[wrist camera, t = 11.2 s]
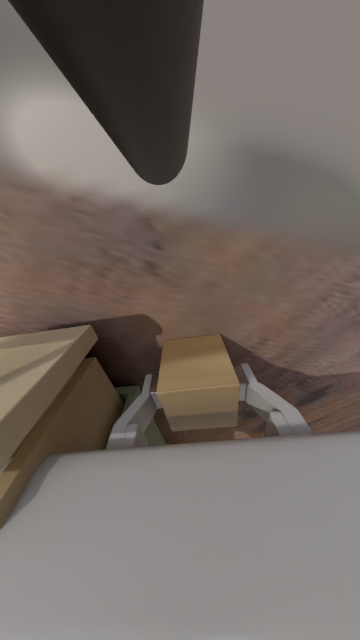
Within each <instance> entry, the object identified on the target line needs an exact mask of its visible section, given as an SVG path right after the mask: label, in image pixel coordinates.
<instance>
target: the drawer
mask: <svg viewBox="0 0 360 640" xmlns="http://www.w3.org/2000/svg"><path fill="white" fill-rule="evenodd" d="M97 340H98V337H97V335H96V333H95V331H94V329H93V328H92V326H91V325H85V326H78V327H71V328H64V329H57V330H50V331H43V332H36V333H29V334H22V335H15V336H7V337H0V471H1V469H2V468H3V466H4V465H5V464H6V462H7V461H8V460H9V458H10V457H12V456H14V457H13V458H12V460H11V461H10V462H9V464H8V465H7V467H6V468H5V469H4V471H3V472H2V473H1V475H0V529H1V527H2V526H3V524H4V522H5V521H6V519H7V517H8V516H9V514H10V512H11V510H12V509H13V507H14V505H15V504H16V502H17V500H18V498H19V497H20V495H21V493H22V492H23V490H24V488H25V487H26V485H27V483H28V481H29V480H30V478H31V476H32V475H33V473H34V472H35V470H36V469H37V468H38V466H39V465H40V463H41V462H42V461H43V459H44V458H45V457H46V456H47V455H49V454H52V453H64V452H78V451H91V450H104V449H106V446H107V443H108V440H109V437H110V434H111V431H112V428H113V425H114V424H115V423H116V421H117V420H118V419H119V418H120V417H121V415H122V412H123V408H124V405H125V404H124V403H123V401H122V400H121V398H120V396H119V395H118V393H117V391H116V390H115V388H114V387H113V385H112V383H111V382H110V380H109V378H108V377H107V375H106V373H105V372H104V370H103V369H102V367H101V365H100V364H99V362H98V360H97V359H96V357H91V358H84V357H85V356H86V355H87V353H88V352H89V351H90V349H91V348H92V347H93V345H94V344H95V343H96V341H97Z"/></svg>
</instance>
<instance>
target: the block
mask: <svg viewBox="0 0 360 640" xmlns="http://www.w3.org/2000/svg"><path fill="white" fill-rule="evenodd" d="M156 393H157V396H158V398H159V401H160V404H161V406H162V409H163V411H164V414H165V416H166V419H167V422H168V424H169V427H170V429H171V431H172V432H174V431H186V430H198V429H210V428H222V427H235V426H237V418H238V406H239V393H240V383H239V380H238V378H237V375H236V373H235V370H234V368H233V365H232V363H231V360H230V358H229V355H228V353H227V350H226V348H225V345H224V343H223V340H222V338H221V335H220V334H215V335H207V336H199V337H191V338H183V339H175V340H168V341H164V342H163V349H162V356H161V363H160V370H159V378H158V385H157V392H156Z"/></svg>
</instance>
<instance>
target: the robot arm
mask: <svg viewBox="0 0 360 640" xmlns="http://www.w3.org/2000/svg"><path fill="white" fill-rule="evenodd" d="M233 368H234V370H235V373H236V375H237V378H238V380H239V383H240V393H239V401H246V402H247V403H248V404H249V405H250V406H251V408H252V409H253V410H254V411H255V412H256V413H257V414H258V415H259V416H260V417H261V418H262V419H263V420H264V421H265V422H266V423H267V425H266V428H265V432H264V435H265V437H261V438H248V439H235V440H222V441H208V442H195V443H182V444H169V445H156V446H148V442H147V440H146V438H145V437H144V435H143V433H144V431H145V430H146V428H147V426H148V425H149V423H150V421H151V420H152V418H153V416H154V415H155V413H156V411H157V409H160V408H162V406H161V404H160V401H159V398H158V396H157V393H156V392H157V385H158V378H159V373H155V374H146V376H145V380H144V384H143V389H142V393H141V395H139V396H138V397H137V398H136V399H135V400H134V402H133V403H132V404H131V405H130V406H129V407H128V409H127V410H126V411H125V412H124V413H123V414H122V416H121V417H120V418H119V419H118V420H117V421H116V423H115V424H114V425H113V428H112V431H111V434H110V437H109V440H108V443H107V446H106V449H104V450H91V451H78V452H64V453H52V454H49V455H47V456H46V457H45V458H44V459H43V461H42V462H41V463H40V465H39V466H38V468H37V469H36V470H35V472H34V473H33V475H32V476H31V478H30V480H29V481H28V483H27V485H26V487H25V488H24V490H23V492H22V493H21V495H20V497H19V498H18V500H17V502H16V504H15V505H14V507H13V509H12V510H11V512H10V514H9V516H8V517H7V519H6V521H5V522H4V524H3V526H2V527H1V529H0V640H360V430H353V431H340V432H327V433H313V432H312V430H311V429H310V427H309V426H308V424H307V423H306V421H305V420H304V418H303V417H302V415H301V414H300V412H299V411H298V409H297V408H295V407H294V406H293V405H291V404H290V403H288V402H287V401H286V400H284V399H283V398H281V397H280V396H279V395H277V394H276V393H274V392H273V391H271V390H270V389H269V388H267V387H266V386H264V385H263V384H262V383H258V382H257V380H256V378H255V376H254V374H253V372H252V370H251V368H250V366H249V365H248V364H247V363H244V364H235V365H233ZM13 457H14V456H12V457H10V458H9V460H8V461H7V462H6V464H5V465H4V466H3V468H2V469H1V471H0V475H1V473H2V472H3V471H4V469H5V468H6V467H7V465H8V464H9V462H10V461H11V460H12V458H13Z"/></svg>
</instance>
